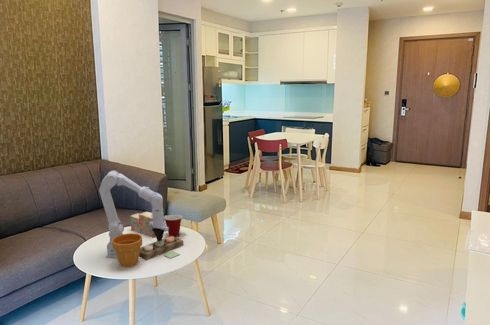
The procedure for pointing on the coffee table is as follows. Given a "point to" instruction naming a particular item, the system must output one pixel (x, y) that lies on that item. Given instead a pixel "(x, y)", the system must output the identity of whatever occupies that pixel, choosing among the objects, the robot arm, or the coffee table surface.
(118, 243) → the flower pot
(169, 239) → the terracotta button
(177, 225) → the plastic cup
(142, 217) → the stack of blocks
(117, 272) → the coffee table surface
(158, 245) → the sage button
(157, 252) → the wooden compartment tray
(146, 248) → the cream button
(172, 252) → the colour card
